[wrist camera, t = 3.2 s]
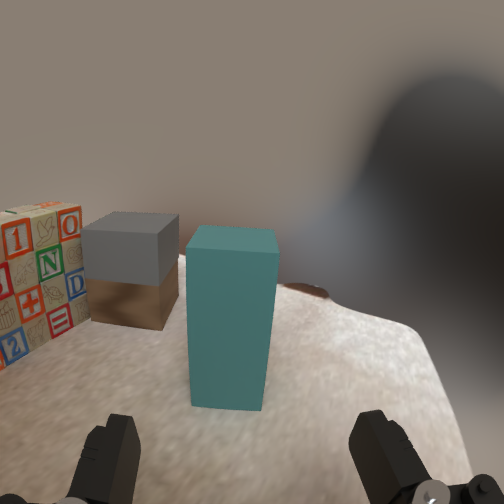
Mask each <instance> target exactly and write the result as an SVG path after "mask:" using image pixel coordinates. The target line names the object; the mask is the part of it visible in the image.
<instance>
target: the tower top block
mask: <svg viewBox="0 0 504 504" xmlns="http://www.w3.org/2000/svg"><path fill="white" fill-rule="evenodd" d="M80 234H81V245H82V254H83V263H84V271H85V278H87V279H96V280H104V281H113V282H122V283H131V284H141V285H151V286H160V285H161V283H162V282H163V280H164V279H165V277H166V276H167V274H168V273H169V271H170V270H171V268H172V267H173V265H174V264H175V262H176V261H177V259H178V258H179V214H160V213H137V212H112V213H110V214H108V215H106V216H105V217H103V218H101V219H99V220H97V221H95V222H93V223H91V224H89V225H87V226H85V227H84V228H82V229H80Z"/></svg>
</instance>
